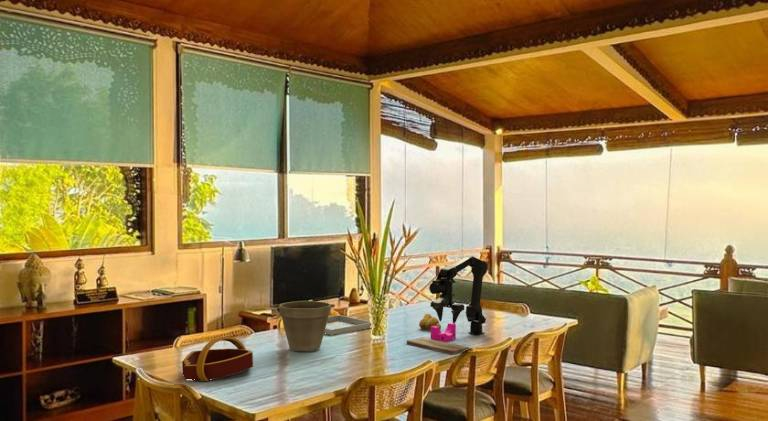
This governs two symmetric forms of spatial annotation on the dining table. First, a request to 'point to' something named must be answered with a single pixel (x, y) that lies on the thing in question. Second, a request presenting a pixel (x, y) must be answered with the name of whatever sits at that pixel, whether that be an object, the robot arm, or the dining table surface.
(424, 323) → the bread roll
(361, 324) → the slate tray rim
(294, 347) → the plant pot
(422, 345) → the walnut board
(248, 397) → the dining table surface
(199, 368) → the decorative basket
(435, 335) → the toy block
